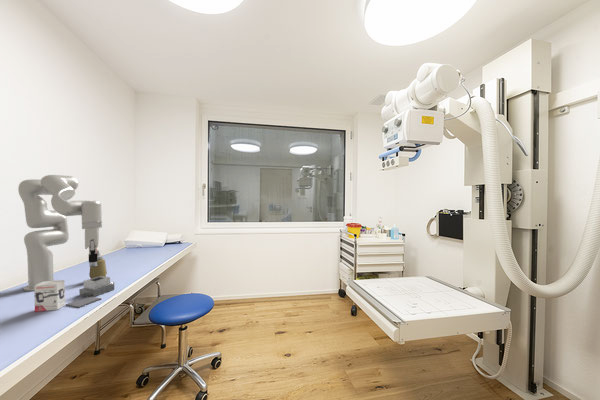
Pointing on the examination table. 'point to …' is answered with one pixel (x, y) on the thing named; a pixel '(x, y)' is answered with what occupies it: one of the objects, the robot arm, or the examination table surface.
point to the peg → (93, 264)
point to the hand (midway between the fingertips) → (93, 261)
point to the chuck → (96, 286)
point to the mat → (83, 301)
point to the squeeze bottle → (98, 267)
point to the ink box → (49, 295)
